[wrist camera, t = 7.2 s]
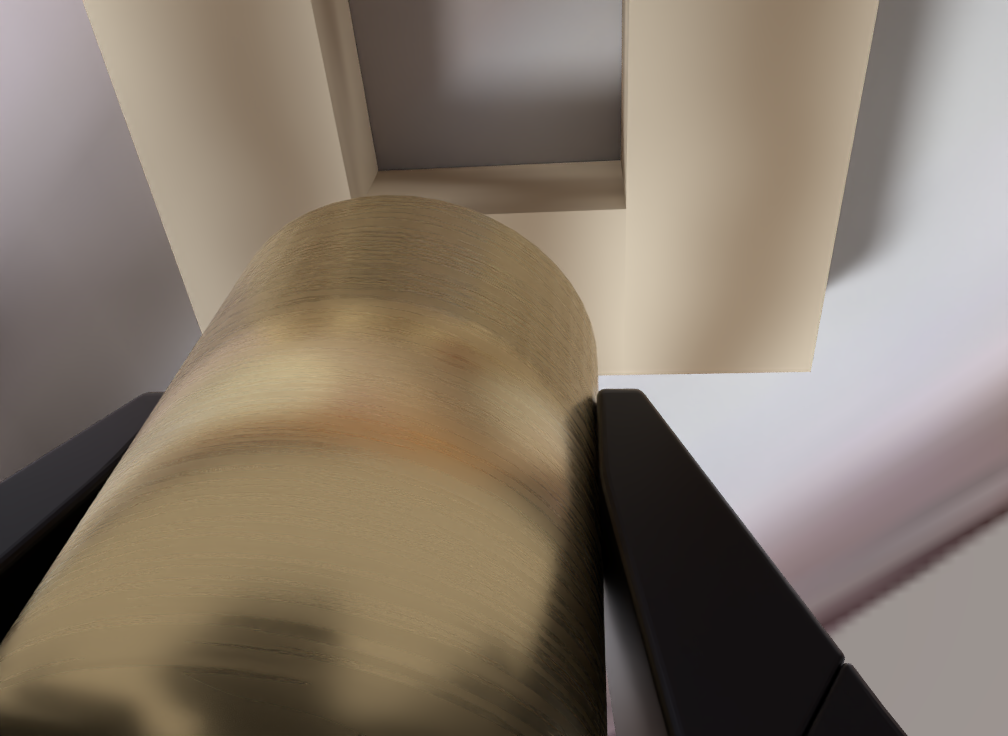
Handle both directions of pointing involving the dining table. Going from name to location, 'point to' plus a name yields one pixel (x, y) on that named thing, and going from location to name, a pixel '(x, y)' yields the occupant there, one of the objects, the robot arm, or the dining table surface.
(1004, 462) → the dining table surface
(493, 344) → the gold cylinder
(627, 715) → the robot arm
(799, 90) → the hole deck
